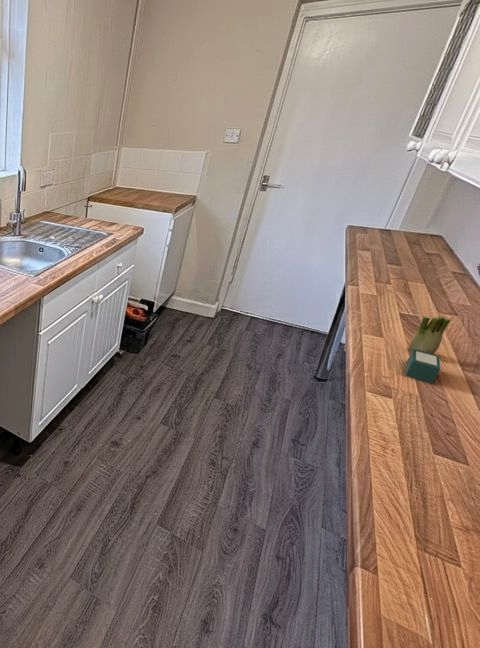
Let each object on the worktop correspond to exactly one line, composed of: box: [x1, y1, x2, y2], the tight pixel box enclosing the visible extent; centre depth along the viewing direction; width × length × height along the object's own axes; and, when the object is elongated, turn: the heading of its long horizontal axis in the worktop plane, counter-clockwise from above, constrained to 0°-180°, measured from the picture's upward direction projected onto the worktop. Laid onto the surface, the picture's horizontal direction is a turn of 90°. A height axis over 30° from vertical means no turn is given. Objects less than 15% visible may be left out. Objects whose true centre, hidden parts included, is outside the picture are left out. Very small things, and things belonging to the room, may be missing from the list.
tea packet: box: [404, 349, 441, 384], centre depth 109 cm, size 9×5×5 cm, turn 135°
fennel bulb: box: [408, 315, 452, 354], centre depth 117 cm, size 6×5×12 cm
